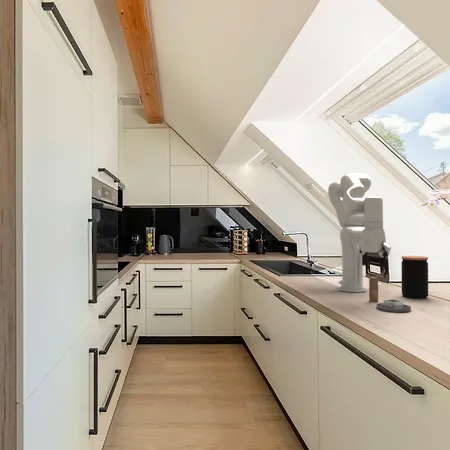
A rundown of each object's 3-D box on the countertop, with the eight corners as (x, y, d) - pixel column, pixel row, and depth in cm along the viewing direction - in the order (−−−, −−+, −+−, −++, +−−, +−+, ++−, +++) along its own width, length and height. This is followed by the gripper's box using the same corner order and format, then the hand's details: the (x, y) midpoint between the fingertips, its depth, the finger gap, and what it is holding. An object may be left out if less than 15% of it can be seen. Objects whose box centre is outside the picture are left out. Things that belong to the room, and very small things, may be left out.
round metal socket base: (369, 307, 143) (369, 299, 143) (392, 304, 148) (392, 296, 148) (394, 314, 132) (394, 305, 132) (418, 310, 137) (418, 302, 137)
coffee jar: (419, 294, 169) (419, 255, 169) (433, 299, 159) (433, 257, 159) (397, 294, 169) (396, 255, 169) (409, 299, 158) (409, 258, 158)
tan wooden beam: (369, 301, 155) (369, 277, 155) (373, 300, 156) (373, 277, 156) (373, 302, 153) (373, 278, 153) (378, 301, 154) (378, 278, 154)
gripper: (352, 226, 161) (352, 265, 161) (382, 225, 145) (383, 268, 145) (365, 226, 164) (365, 264, 164) (396, 225, 148) (397, 267, 148)
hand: (374, 266), depth 154 cm, fingers open, 9 cm apart
